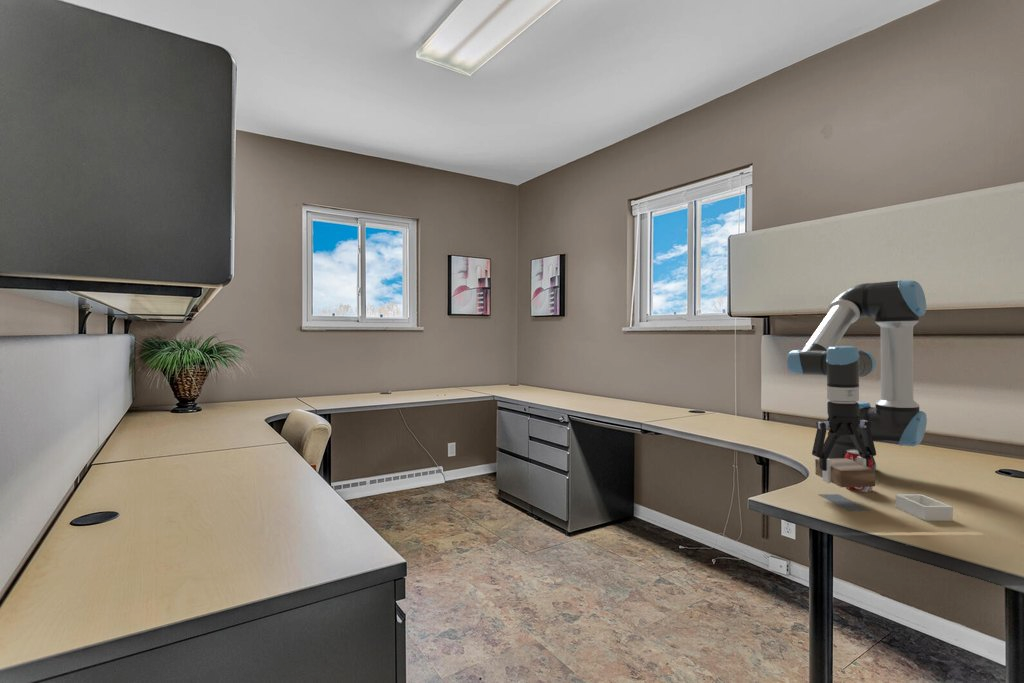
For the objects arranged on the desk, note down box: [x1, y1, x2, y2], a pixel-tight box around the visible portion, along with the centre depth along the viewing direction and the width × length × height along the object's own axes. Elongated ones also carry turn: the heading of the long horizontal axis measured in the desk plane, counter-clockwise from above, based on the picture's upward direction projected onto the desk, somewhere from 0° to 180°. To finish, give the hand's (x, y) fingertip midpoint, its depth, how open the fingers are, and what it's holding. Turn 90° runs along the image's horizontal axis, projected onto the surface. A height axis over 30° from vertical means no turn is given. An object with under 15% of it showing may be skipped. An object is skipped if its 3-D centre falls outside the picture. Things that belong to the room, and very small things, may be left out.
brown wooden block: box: [814, 458, 876, 488], centre depth 142 cm, size 12×9×4 cm
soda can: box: [845, 449, 873, 493], centre depth 154 cm, size 7×7×12 cm
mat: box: [818, 493, 871, 512], centre depth 142 cm, size 14×6×1 cm, turn 179°
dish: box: [895, 493, 954, 522], centre depth 133 cm, size 10×7×4 cm
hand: (844, 481), depth 142 cm, fingers closed on brown wooden block, 9 cm apart
